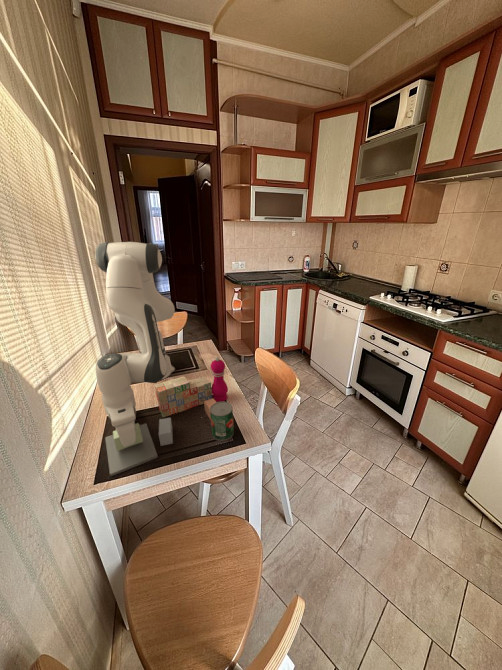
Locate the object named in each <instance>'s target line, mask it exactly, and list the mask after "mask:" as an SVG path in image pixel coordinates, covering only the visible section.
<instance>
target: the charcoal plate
mask: <svg viewBox="0 0 502 670" xmlns="http://www.w3.org/2000/svg"><path fill="white" fill-rule="evenodd" d="M139 427H140V431H141V435H142V440H143V442H141V443H138V444H135V445H132V446H129V447H127V448H124V449H121V450H118V451H117V449H116V445H115V441H114V436H113V434H111V435H109V436H106V437H104V439H105V447H106V448H105V449H106V452H107V453H106V455H107V462H108V463H107V464H108V470H109V476H110V477H114V476H116V475H118V474H121V473H123V472H125V471H128V470H130V469H133V468H135V467H137V466H140V465H143V464H145V463H147V462H150V461H152V460H156V459H157V458H158V456H159V455H158V453H157V450H156V447H155V443H154V441H153V438H152V435H151V432H150V430H149V427H148V425H147V423H143V424H139Z"/></svg>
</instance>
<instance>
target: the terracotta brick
mask: <svg viewBox="0 0 502 670" xmlns="http://www.w3.org/2000/svg"><path fill="white" fill-rule="evenodd" d="M214 403H217V402H216V401H215V400H214V399H213V398H212V399H210V400H207V401H204V404H203V405H204V413H205V414H206V415H207V417H208V418H209V419H210V420H211V415H210V407H211V406H212V405H213V404H214Z"/></svg>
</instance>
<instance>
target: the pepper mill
mask: <svg viewBox="0 0 502 670" xmlns="http://www.w3.org/2000/svg"><path fill="white" fill-rule="evenodd" d="M210 369H211V371H212V372H211V373H212V376H213V382H212V383H211V389H212V399H214V400H215V401H216V402H222V401H223V402H226V401H227V400H228V392H229V387H228V385H227V383H226V381H225V380H224V379H225V378H224V375H225V369H226V364H225V362H224V361H223V360H222V359H220V357H219V356H216V357H215V359H214V360H212V362H211V363H210ZM225 400H226V401H225Z"/></svg>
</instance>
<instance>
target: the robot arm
mask: <svg viewBox="0 0 502 670" xmlns="http://www.w3.org/2000/svg"><path fill="white" fill-rule="evenodd" d="M94 258H95V262H96V265H97V268H99V270H101V271H103V272H104V273H105V274H106V277H105V295H106V296H105V297H106V303H107V305H108V308H109V309H110V310H111V311H112V312H113V313H114V316H115V319H116V321H117V322H118V323H119V324H121V325H123V326H125V327H127V328H128V329H129V330H131V332H132V333H134V335H135V337H136V339H137V344H138V347H139V353H137V352H136V353H132V352H130V353H129V352H126V353H123V352H122V353H121V352H120V353H116V352H111V353H107V354H105V355H103V356H101V357H100V358H98V360H97V361H96V363H95V376H96V380H97V385H98V389H99V391H100V392H101V395H102V396H101V397H102V398H101V400H102V403H103V407H104V411H105V414H106V415H107V417H108V419H109V420H110V423H111V425H112V427H115V430H117V433H118V436H119V438H120V441H121V443H122V445H123V446H124V447H126V446H129V445H132V444H134V443H135V442H136V432H135V424H136V423H134V420H135V421H136V417H137V416H136V417H135V408H136V406H137V403H136V398H135V395H134V390H133V388H132V386H131V383H147V384H149V383H150V384H158V382H159V383H160V381H162V380H164V379H166V378H168V377H169V376H171V374H172V373H173V372H174V371H175V370H176V368H175V367H174V366H173V365H172V364H171V359H170V356H169V355H167V353H166V347H165V346H164V345H165V344H164V338H163V334H162V332H161V331H160V330H159V328H158V327H159V325H158V323H159V322H163V321H167V320H171V319H172V318H173V317H174V314H175V312H176V311H175V310H176V309H175V305H174V303H173V302H172V300H170V299H169V298H167V297H165V296H163V295H162V294H161V293H160V292H159V291H158V290H157V288H156V285H155V284H156V283H155V281H154V280H155V279H154V273H157V272H158V271H160V269H161V266H162V264H163V263H162V262H163V257H162V253H161V251H160V248H159V247H158V246H157V245H156V244H153V243H149V242H147V243H145V242H136V241H125V242H124V241H121V242H120V241H119V242H118V241H117V242H116V241H115V242H110V241H107V242H101V243H99V244H98V245H97V246H96V248H95V253H94Z"/></svg>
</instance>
